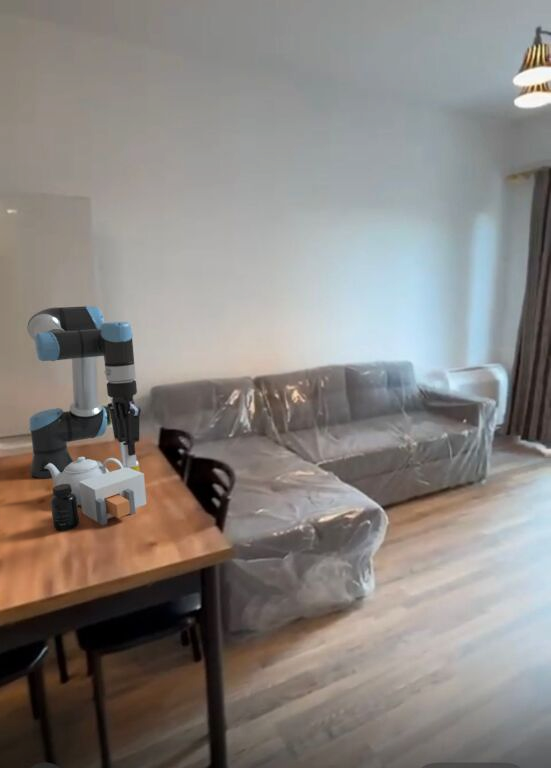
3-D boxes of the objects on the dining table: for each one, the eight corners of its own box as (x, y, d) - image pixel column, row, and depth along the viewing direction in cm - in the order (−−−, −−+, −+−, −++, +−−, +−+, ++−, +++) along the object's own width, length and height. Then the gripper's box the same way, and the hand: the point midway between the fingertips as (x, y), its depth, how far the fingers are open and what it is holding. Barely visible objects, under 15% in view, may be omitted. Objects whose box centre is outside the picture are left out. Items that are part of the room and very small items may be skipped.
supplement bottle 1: (58, 521, 142) (54, 482, 139) (82, 520, 142) (78, 481, 140) (50, 532, 135) (44, 492, 133) (75, 531, 135) (70, 490, 133)
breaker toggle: (104, 511, 143) (103, 498, 142) (117, 506, 146) (115, 493, 145) (117, 518, 138) (116, 505, 137) (130, 513, 141) (129, 500, 140)
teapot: (72, 514, 146) (67, 471, 144) (46, 498, 159) (41, 459, 156) (127, 494, 160) (124, 455, 157) (100, 481, 172) (96, 444, 170)
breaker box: (81, 513, 147) (78, 481, 145) (129, 496, 158) (126, 466, 157) (102, 525, 138) (99, 492, 136) (151, 506, 150) (149, 475, 148)
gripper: (94, 380, 131) (103, 463, 135) (122, 385, 121) (130, 475, 125) (120, 376, 136) (127, 456, 140) (148, 381, 126) (155, 467, 131)
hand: (129, 465), depth 133 cm, fingers closed
